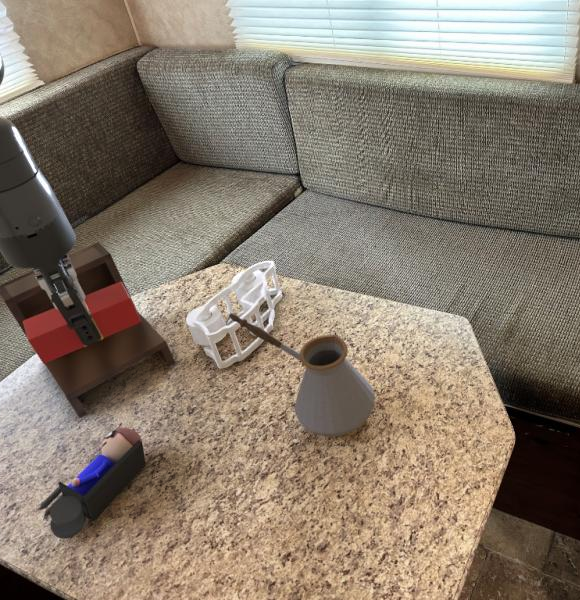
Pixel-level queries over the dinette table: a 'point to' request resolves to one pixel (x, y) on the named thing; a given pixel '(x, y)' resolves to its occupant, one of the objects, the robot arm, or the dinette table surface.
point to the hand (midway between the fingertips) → (88, 330)
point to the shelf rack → (102, 354)
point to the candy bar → (62, 340)
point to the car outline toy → (251, 296)
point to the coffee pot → (325, 384)
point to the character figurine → (96, 483)
